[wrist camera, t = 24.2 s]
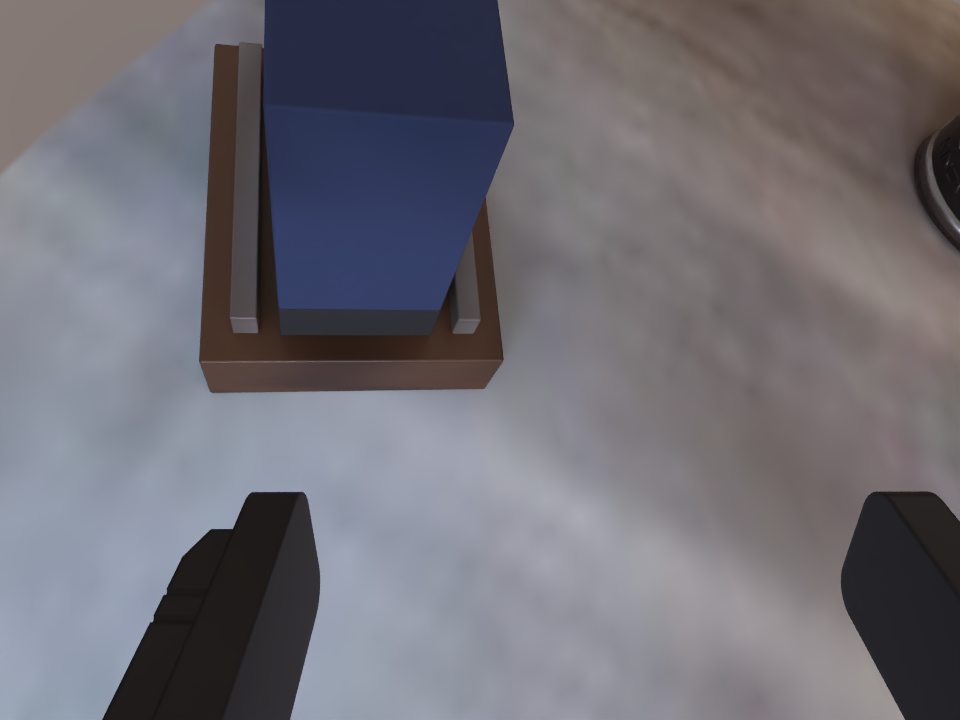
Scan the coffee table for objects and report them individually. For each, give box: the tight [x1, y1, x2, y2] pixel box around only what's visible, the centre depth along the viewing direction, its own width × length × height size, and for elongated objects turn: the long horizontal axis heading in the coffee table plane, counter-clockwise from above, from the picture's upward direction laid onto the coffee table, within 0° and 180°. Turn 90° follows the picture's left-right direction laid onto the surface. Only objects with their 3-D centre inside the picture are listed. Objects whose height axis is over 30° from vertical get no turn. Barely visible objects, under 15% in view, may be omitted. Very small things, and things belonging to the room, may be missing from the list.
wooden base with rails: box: [199, 43, 504, 393], centre depth 27 cm, size 10×13×4 cm
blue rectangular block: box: [263, 0, 514, 335], centre depth 21 cm, size 11×5×11 cm, turn 5°
